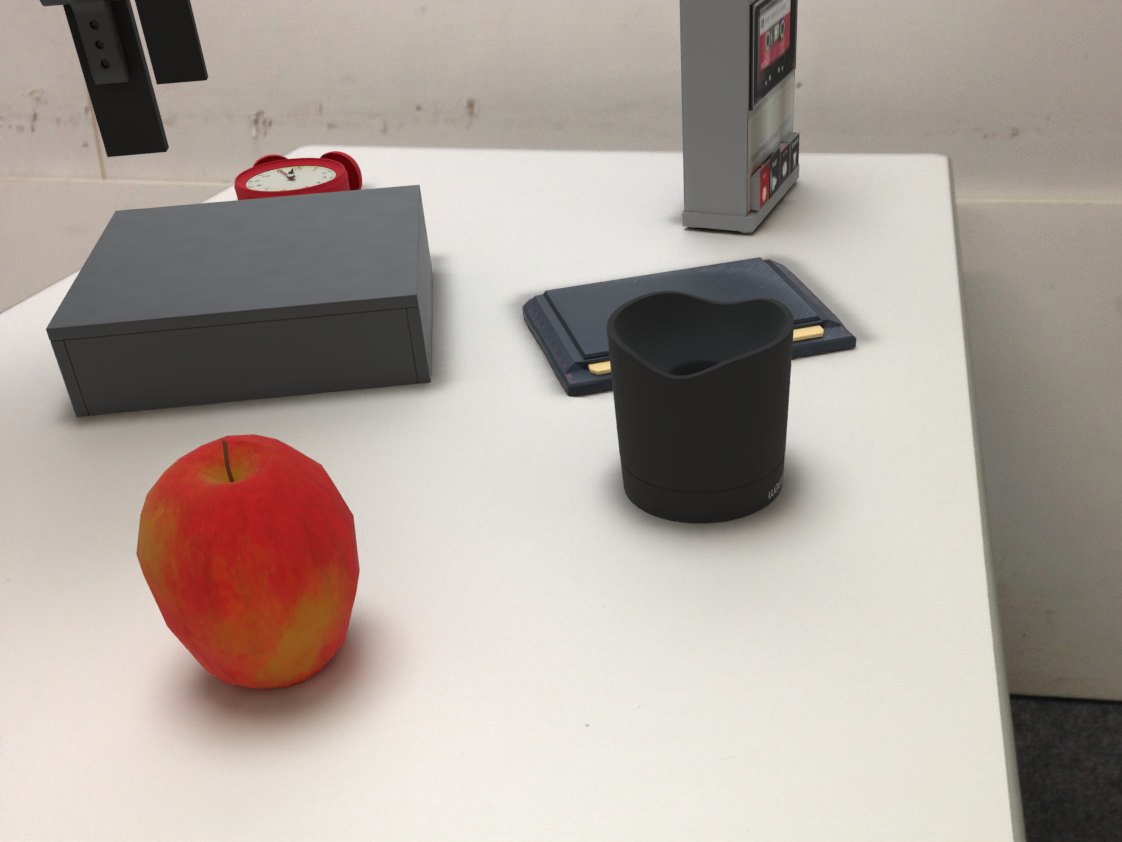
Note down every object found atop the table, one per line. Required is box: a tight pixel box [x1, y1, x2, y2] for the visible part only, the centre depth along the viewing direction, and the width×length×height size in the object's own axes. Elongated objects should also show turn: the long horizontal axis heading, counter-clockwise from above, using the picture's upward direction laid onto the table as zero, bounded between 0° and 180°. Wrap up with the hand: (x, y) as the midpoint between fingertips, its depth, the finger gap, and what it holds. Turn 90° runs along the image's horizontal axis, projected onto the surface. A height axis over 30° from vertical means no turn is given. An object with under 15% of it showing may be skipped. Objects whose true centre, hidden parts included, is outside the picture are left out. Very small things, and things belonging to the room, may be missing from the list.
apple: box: [135, 433, 361, 690], centre depth 56 cm, size 9×9×12 cm
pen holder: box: [607, 291, 794, 525], centre depth 67 cm, size 9×9×10 cm
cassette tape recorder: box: [679, 0, 800, 234], centre depth 100 cm, size 14×6×25 cm, turn 159°
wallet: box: [521, 256, 857, 397], centre depth 87 cm, size 20×2×15 cm
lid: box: [45, 184, 433, 418], centre depth 87 cm, size 22×21×6 cm
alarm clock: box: [233, 150, 363, 200], centre depth 108 cm, size 10×6×15 cm
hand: (162, 114), depth 65 cm, fingers open, 13 cm apart
